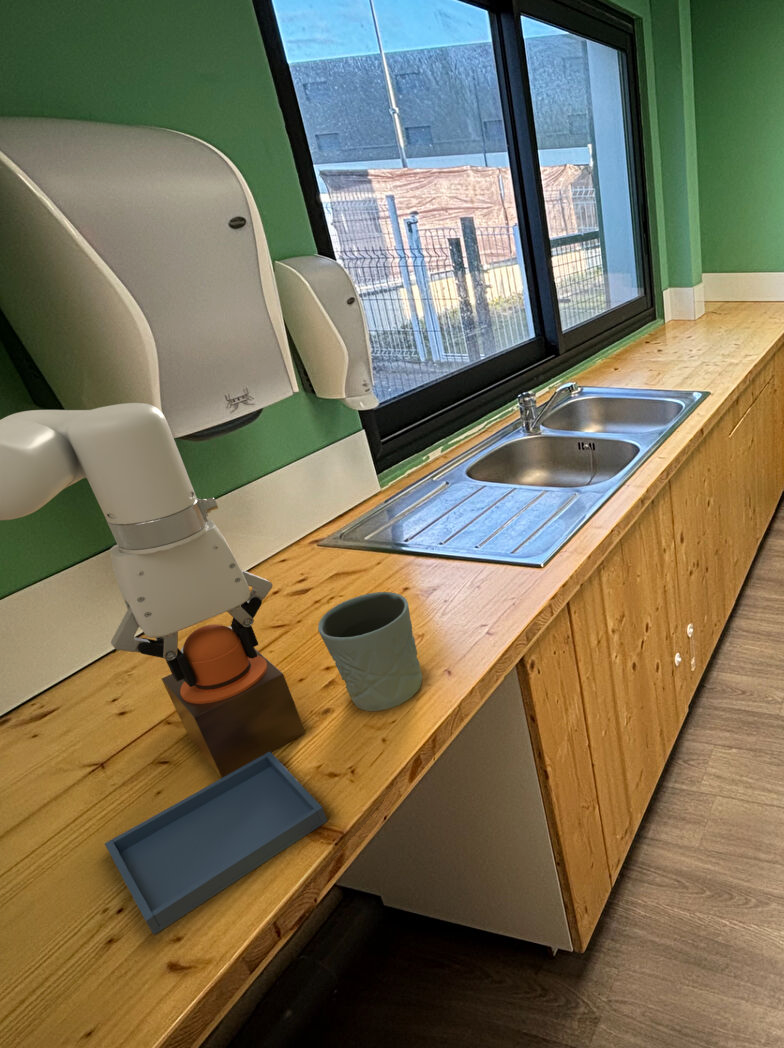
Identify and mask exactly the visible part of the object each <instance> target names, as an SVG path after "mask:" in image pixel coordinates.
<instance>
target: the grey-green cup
mask: <svg viewBox="0 0 784 1048" xmlns="http://www.w3.org/2000/svg"><path fill="white" fill-rule="evenodd" d="M317 631H318V633H319V635H320V637H321V639H322V641H323V643H324V645H325V646H326V649H327V651H328V653H329V655H330V656H331V658H332V661H334V665H335V667H336V670H337V671H338V673H339V675H340V677H341V680H342V681H344V683H345V688H346V691H347V693H348V694H349V697H350V699H351V701H352V703H353V704H354V706H355V707H357V708H358V709H359V710H362V711H366V712H379V711H385V710H390V709H392V708H396V707H398V706H401V705H402V704H403V703H406V702H407V701H410V699H411V698H413V697H414V696H415V694H417V692H418V691H419V690H420V688H421V686H422V683H423V674H422V670H421V664H420V661H419V659H418V656H417V655H418V650H417V646H416V638H415V637H414V635H413V634H414V632H413V624H412V619H411V613H410V607H409V601H408V600H407V598H406V597H405V596H403V595H402V594H400V593H396V592H392V591H391V592H389V591H379V592H378V591H377V592H370V593H365V594H361V595H359V596H358V595H357V596H355V597H353V598H349V599H347V600H344V601H342V602H341V603H338V604H337V605H335V606H334V607H332V608H331V609H330V610H328V611H327V612H325V614H323V615H322V616H321V618H320V620H319V621H318V625H317Z"/></svg>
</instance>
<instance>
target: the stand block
mask: <svg viewBox="0 0 784 1048" xmlns="http://www.w3.org/2000/svg"><path fill="white" fill-rule="evenodd" d="M254 649H255V651H256V654H257V655H259V656H261V657H263V658H264V659H265V660H266V663H267V670H266V672H265V674H264V675H263V677H262V678H261V679H260V680H259V681H258V682H256V683H255V684H254V685H253V686H251V687H250V688H248V689H246V690H245V691H243V692H241V693H239V694H237V695H235V696H232V697H230V698H227V699H224V700H220V701H217V702H212V703H205V704H194V703H189V702H187V701H185V700H184V699H183V698H182V696H181V694H180V689H181V686H182V685H183V683H184V682H185V681H184V680H183V679H182V680H180V681H178V682H177V681H176V680H175V678H174V677H173V675H172V673H171V674H168V675H166V676H163V677H161V681H162V684H163V686H164V688H165V689H166V692H167V695H168V696H169V698H170V701H171V702H172V705H173V707H174V709H175V711H176V713H177V715H178V717H179V719H180V721H181V724H182V725H183V729H184V730H185V732H186V735H187V736H188V738H189V740H190V741H191V742H192V743H193V744H194V746H195V747H196V748H197V750H198V751H199V752H200V753H201V754H202V755H203V757H204V758H205V760H206V761H207V763H208V764H210V766H211V767H212V768H213V769H214V770H215V772H216V773H217V774H218V776H219V777H220V779H221V778H223V777H225V776H227V775H228V774H230V773H232V772H234V771H236V770H237V769H239V768H241V767H243V766H245V765H246V764H248V763H250V762H252V761H253V760H255V759H257V758H259V757H261V756H262V755H265V754H266V753H268V752H269V751H270V752H271V753H273V752H275V751H276V750H278V749H280V748H281V747H283V746H286V745H287V744H289V743H290V742H293V741H294V740H297V739H298V738H299V737H302V736H304V735H305V734H306V730H305V728H304V725H303V722H302V720H301V717H300V714H299V711H298V709H297V706H296V704H295V703H296V702H295V700H294V698H293V696H292V693H291V690H290V688H289V685H288V683H287V680H286V677H285V675H284V673H283V672H282V671H281V670H280V669H279V668H277V667H276V666H275V665H274V664H273V663H272V662H271V661H269V659H267V658H266V657H265V656H264V655H263V654H262V653H261V652H259V651H258V650H257V649H256V648H255V647H254Z"/></svg>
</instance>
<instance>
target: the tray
mask: <svg viewBox="0 0 784 1048" xmlns="http://www.w3.org/2000/svg"><path fill="white" fill-rule="evenodd" d="M328 821H329V820H328V818H327V815H326V813H325V810H324V808H323V806H322V805H321V804H320V803H319V802H318V801H317V799H315V798H314V796H313V795H311V793H310V792H309V791H308V790H307V789H306V788H305V787H304V786H303V784H301V783H300V782H299V780H298V779H296V777H295V776H294V775H293V774H292V773H291V772H290V771H289V770H288V769H287V767H285V766H284V765H283V763H282V762H281V761H280V760H279V759H278V758H277V756H276V755H274V754H273V752H270V751H269V752H268V753H266V754H265V755H262V756H261V757H259V758H257V759H255V760H253V761H252V762H250V763H248V764H246V765H245V766H243V767H241V768H239V769H237V770H236V771H234V772H232V773H230V774H228V775H227V776H225V777H223V778H221V777H220V778H219V779H218V780H216V781H214V782H212V783H210V784H209V785H207V786H205V787H203V788H201V789H200V790H198V791H196V792H194V793H192V794H191V795H189V796H187V797H185V798H183V799H182V800H180V801H177V802H176V803H175V804H173V805H171V806H169V807H167V808H166V809H164V810H162V811H160V812H158V813H157V814H155V815H153V816H151V817H149V818H148V819H146V820H144V821H142V822H141V823H139V824H137V825H135V826H133V827H131V828H130V829H127V830H126V831H124V832H123V833H120V834H119V835H117V836H115V837H113V838H112V839H110V840H108V841H106V842H105V843H104V846H105V847H106V850H107V851H108V853H109V855H110V857H111V859H112V861H113V862H114V864H115V867H116V868H117V871H118V872H119V874H120V876H121V878H122V879H123V881H124V883H125V885H126V888H127V889H128V891H129V892H130V894H131V896H132V898H133V901H134V902H135V904H136V906H137V908H138V910H139V912H140V913H141V915H142V918H143V919H144V921H145V922H146V924H147V926H148V927H149V929H150V931H151V933H152V935H153V936H155V935H157V934H158V933H160V932H162V931H163V930H165V929H166V928H168V927H169V926H170V925H172V924H173V923H175V922H177V921H178V920H180V919H181V918H182V917H184V916H186V915H187V914H189V913H191V912H192V911H194V910H195V909H196V908H198V907H199V906H201V905H203V904H204V903H205V902H207V901H208V900H210V899H212V898H213V897H215V896H216V895H217V894H220V893H221V892H222V891H224V890H225V889H227V888H229V887H230V886H231V885H233V884H235V883H236V882H237V881H239V880H240V879H242V878H244V877H245V876H246V875H248V874H250V873H251V872H253V871H254V870H256V869H258V868H259V867H260V866H262V865H263V864H265V863H267V862H268V861H269V860H271V859H273V858H274V857H276V856H278V854H280V853H282V852H284V851H285V850H286V849H287V848H289V847H291V846H292V845H294V844H295V843H297V842H299V841H300V840H301V839H303V838H305V837H306V836H308V835H309V834H311V833H312V832H313V831H315V830H317V829H319V827H321V826H323V825H324V824H326V823H327V822H328Z"/></svg>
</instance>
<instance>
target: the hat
mask: <svg viewBox="0 0 784 1048" xmlns="http://www.w3.org/2000/svg"><path fill="white" fill-rule="evenodd" d="M229 627H230V626H226V625H223V624H215V623H214V624H207V625H204V626H200V627H199V628H196V629H195V630H193V631H192V632H191V633H190V634H189V635H188V636H187V638H186V639H185V640H184V643H183V645H182V647H183V654H184V655H185V656H186V658H187V661H188V663H189V665H190V667H191V670H192V672H193V674H194V676H195V679H196V681H197V683H196V685H194V686H192V687H190V686H189V685H188V684H187V683H186V682H184V683H183V685H182V686H181V689H180V694H181V696H182V698H183V699H184V700H185V701H187V702H189V703H194V704H205V703H212V702H217V701H220V700H224V699H227V698H230V697H232V696H235V695H237V694H239V693H241V692H243V691H245V690H246V689H248V688H250V687H251V686H253V685H254V684H255V683H256V682H258V681H259V680H260V679H261V678H262V677H263V675H264V674H265V672H266V670H267V663H266V660H265V659H264V658H263V657H261V656H259V655H257V657H255V658H253V659H252V658H249V657H248V656H247V655H246V652H245V650H244V647H243V645H242V642H241V640H240V638H239V637H238V636H237V634H236V633H235V632H234V631H233V630H232V629H230V628H229Z"/></svg>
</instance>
